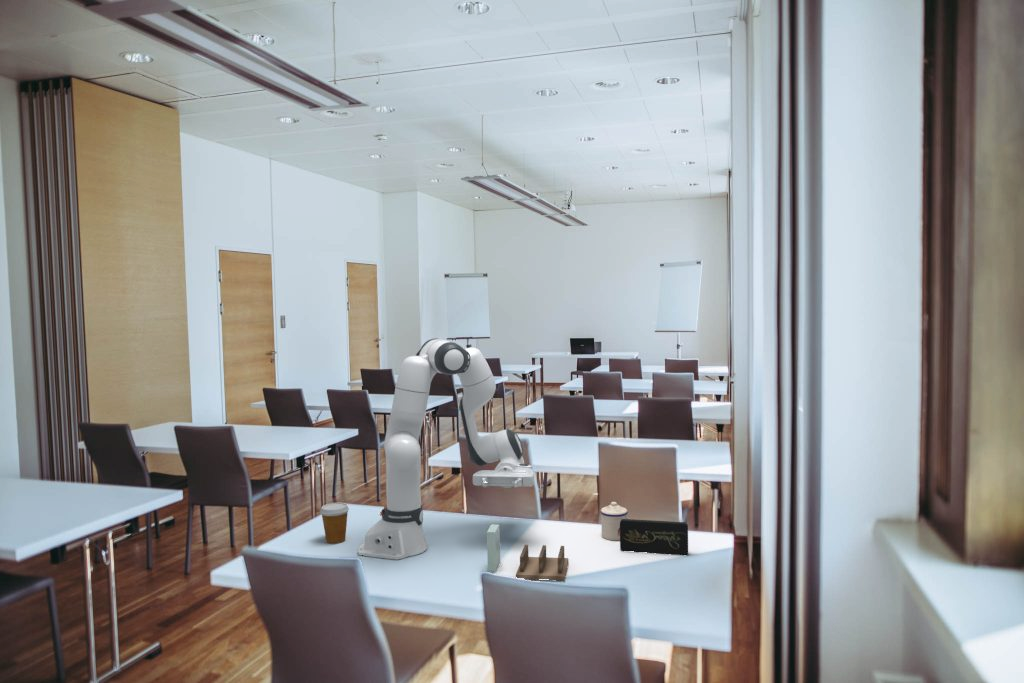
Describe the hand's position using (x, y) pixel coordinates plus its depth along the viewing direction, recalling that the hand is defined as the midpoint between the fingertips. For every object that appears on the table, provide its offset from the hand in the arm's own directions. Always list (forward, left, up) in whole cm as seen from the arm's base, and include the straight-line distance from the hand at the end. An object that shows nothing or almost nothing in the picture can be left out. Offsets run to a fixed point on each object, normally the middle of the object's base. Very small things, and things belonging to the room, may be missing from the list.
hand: (499, 484), depth 214 cm
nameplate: (+48, +5, -22) cm, 53 cm away
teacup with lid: (+36, +20, -22) cm, 47 cm away
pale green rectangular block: (0, -12, -22) cm, 25 cm away
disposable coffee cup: (-59, +6, -22) cm, 63 cm away
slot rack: (+15, -14, -22) cm, 30 cm away
